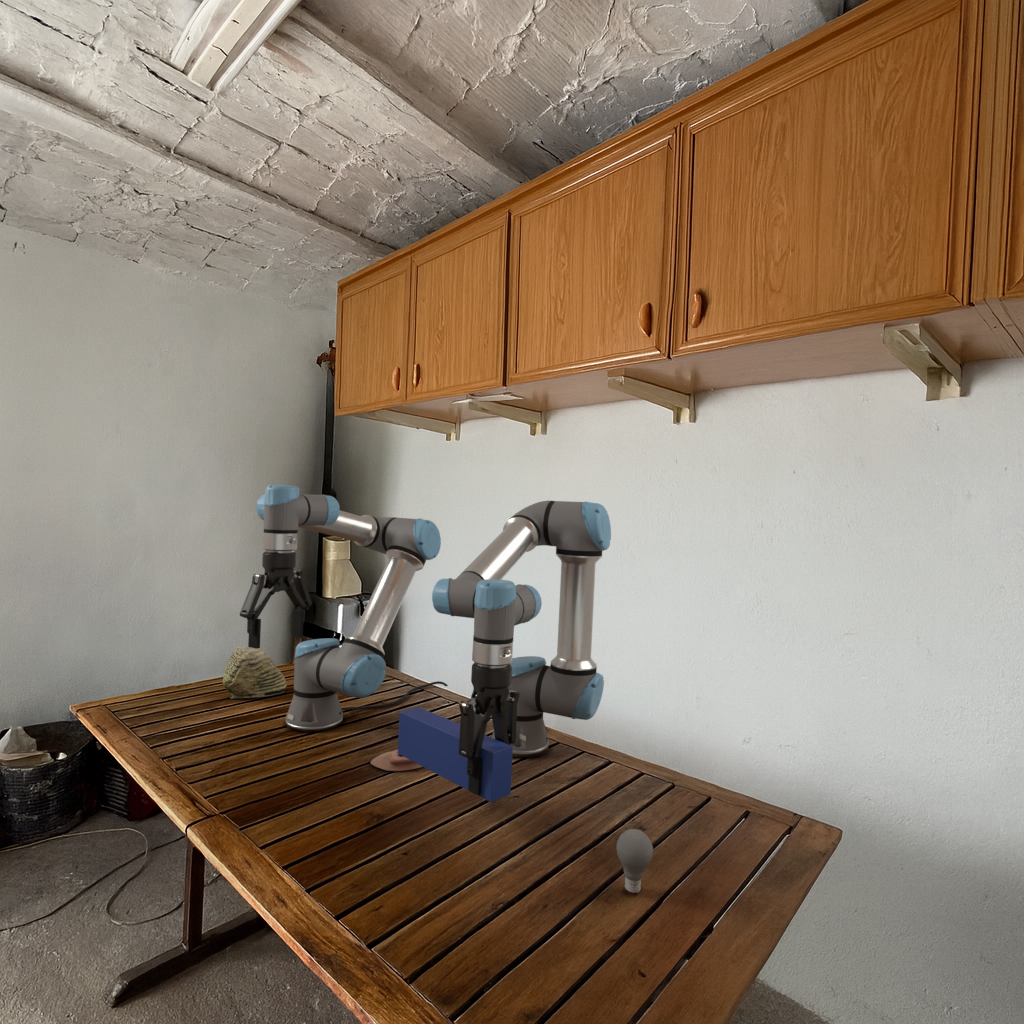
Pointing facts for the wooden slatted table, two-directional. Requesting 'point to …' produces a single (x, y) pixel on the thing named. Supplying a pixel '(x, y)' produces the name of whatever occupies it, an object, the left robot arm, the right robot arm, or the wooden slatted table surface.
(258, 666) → the fossil
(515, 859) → the wooden slatted table surface
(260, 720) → the wooden slatted table surface
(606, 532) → the right robot arm
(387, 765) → the anatomical model
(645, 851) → the light bulb
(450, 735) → the bar
